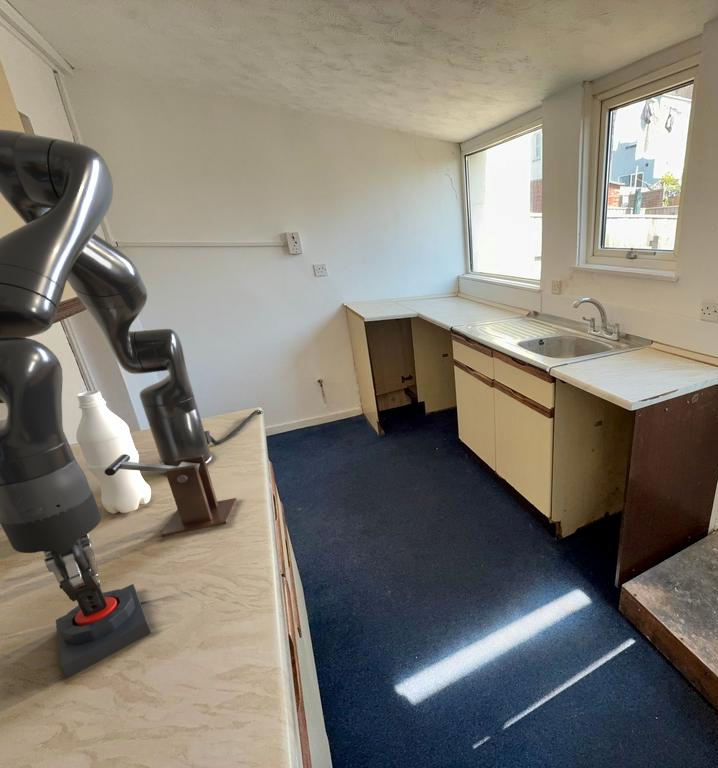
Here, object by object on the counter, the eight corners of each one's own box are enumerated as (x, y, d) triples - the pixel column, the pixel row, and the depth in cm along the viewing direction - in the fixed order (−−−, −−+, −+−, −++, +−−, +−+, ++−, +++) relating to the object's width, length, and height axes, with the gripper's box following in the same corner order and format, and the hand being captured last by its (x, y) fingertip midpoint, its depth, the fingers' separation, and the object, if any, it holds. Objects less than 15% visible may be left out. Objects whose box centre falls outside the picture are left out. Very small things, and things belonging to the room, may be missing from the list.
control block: (61, 631, 55) (50, 609, 54) (137, 594, 61) (129, 574, 59) (67, 679, 49) (55, 656, 48) (151, 633, 55) (142, 611, 53)
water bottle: (125, 520, 77) (79, 402, 69) (97, 515, 78) (48, 398, 70) (163, 498, 84) (125, 388, 75) (136, 494, 85) (96, 385, 77)
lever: (103, 477, 67) (105, 465, 67) (119, 463, 72) (120, 451, 71) (191, 484, 72) (193, 473, 72) (200, 470, 77) (202, 459, 76)
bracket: (162, 539, 72) (141, 479, 68) (179, 513, 79) (161, 457, 75) (227, 526, 76) (210, 468, 71) (237, 502, 83) (223, 448, 78)
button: (77, 620, 54) (73, 610, 53) (117, 601, 57) (113, 592, 56) (80, 638, 51) (76, 628, 51) (122, 617, 54) (118, 607, 54)
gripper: (97, 508, 46) (142, 618, 52) (84, 469, 54) (124, 568, 60) (-4, 543, 41) (58, 661, 47) (-2, 494, 49) (51, 601, 55)
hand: (95, 609), depth 53 cm, fingers closed
